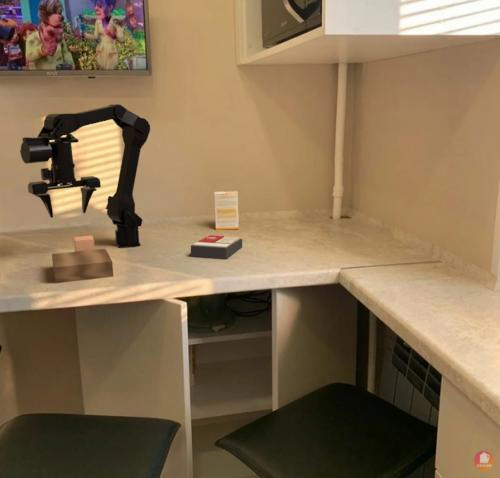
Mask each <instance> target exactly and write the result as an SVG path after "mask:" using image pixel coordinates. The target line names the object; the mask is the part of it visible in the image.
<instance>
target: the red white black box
mask: <svg viewBox="0 0 500 478" xmlns="http://www.w3.org/2000/svg"><path fill="white" fill-rule="evenodd" d="M242 248H243V239H242V238H241V236H228V235H227V236H224V235H214V234H212V235H208V236H205V237H204V238H202V239H200V240H198V241H197V242H194V243H193V244H191V245H190V257H191V258H198V259H211V260H212V259H214V260H223V261H225V260H228V259H229V258H231V257H232V256H233V255H234V254H235V253H237V252H238V251H239V250H241V249H242Z"/></svg>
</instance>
